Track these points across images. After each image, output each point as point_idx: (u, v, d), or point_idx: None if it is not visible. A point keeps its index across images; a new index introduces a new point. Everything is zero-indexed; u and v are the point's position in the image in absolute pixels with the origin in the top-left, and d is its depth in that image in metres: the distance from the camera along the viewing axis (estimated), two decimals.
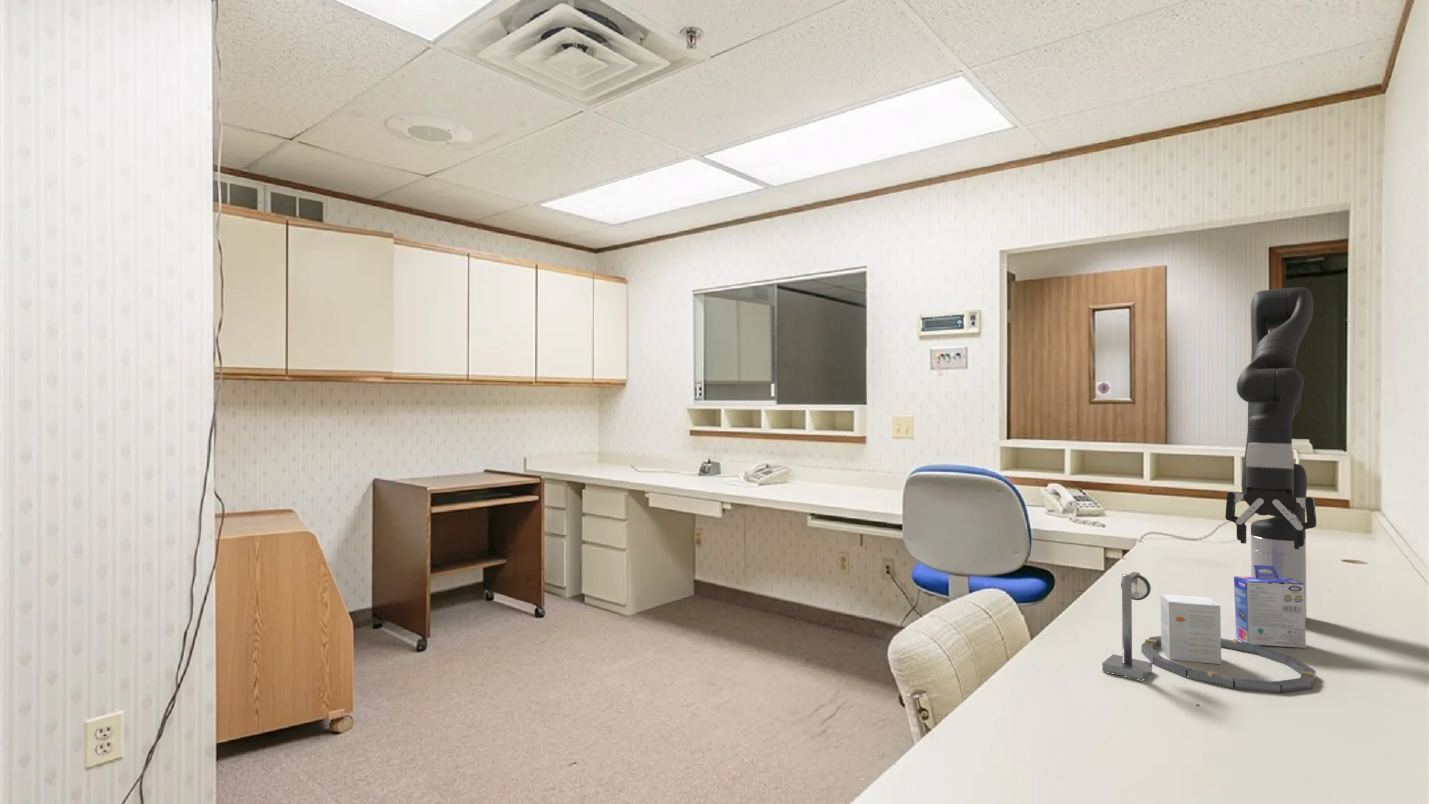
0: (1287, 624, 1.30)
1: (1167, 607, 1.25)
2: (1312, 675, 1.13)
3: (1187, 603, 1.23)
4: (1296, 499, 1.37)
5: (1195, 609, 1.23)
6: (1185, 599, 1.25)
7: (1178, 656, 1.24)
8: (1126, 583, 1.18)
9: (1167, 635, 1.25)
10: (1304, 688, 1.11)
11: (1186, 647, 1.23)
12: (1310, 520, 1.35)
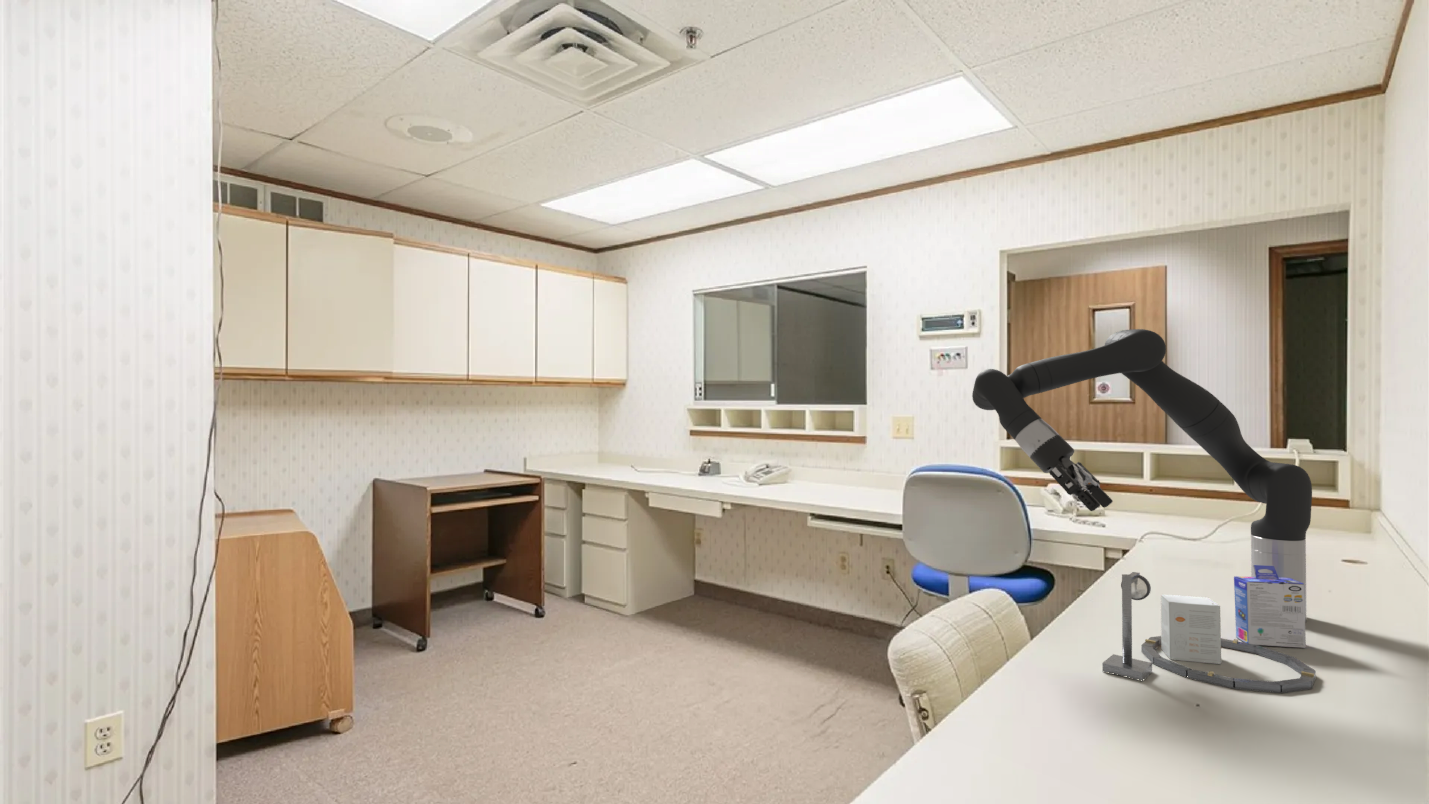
0: (1287, 624, 1.30)
1: (1167, 607, 1.25)
2: (1312, 675, 1.13)
3: (1187, 603, 1.23)
4: None
5: (1195, 609, 1.23)
6: (1185, 599, 1.25)
7: (1178, 656, 1.24)
8: (1126, 583, 1.18)
9: (1167, 635, 1.25)
10: (1304, 688, 1.11)
11: (1186, 647, 1.23)
12: None
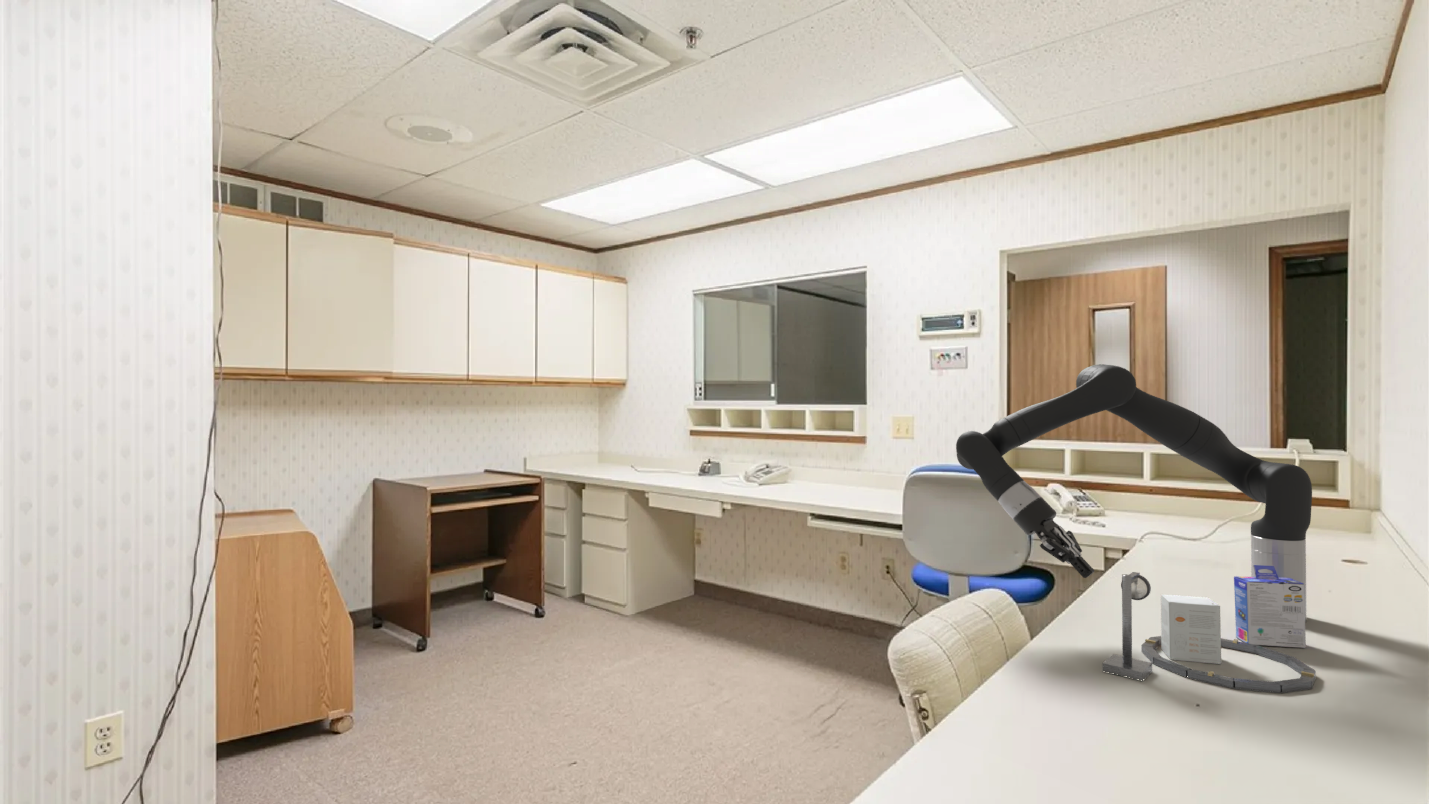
0: (1287, 624, 1.30)
1: (1167, 607, 1.25)
2: (1312, 675, 1.13)
3: (1187, 603, 1.23)
4: None
5: (1195, 609, 1.23)
6: (1185, 599, 1.25)
7: (1178, 656, 1.24)
8: (1126, 583, 1.18)
9: (1167, 635, 1.25)
10: (1304, 688, 1.11)
11: (1186, 647, 1.23)
12: None
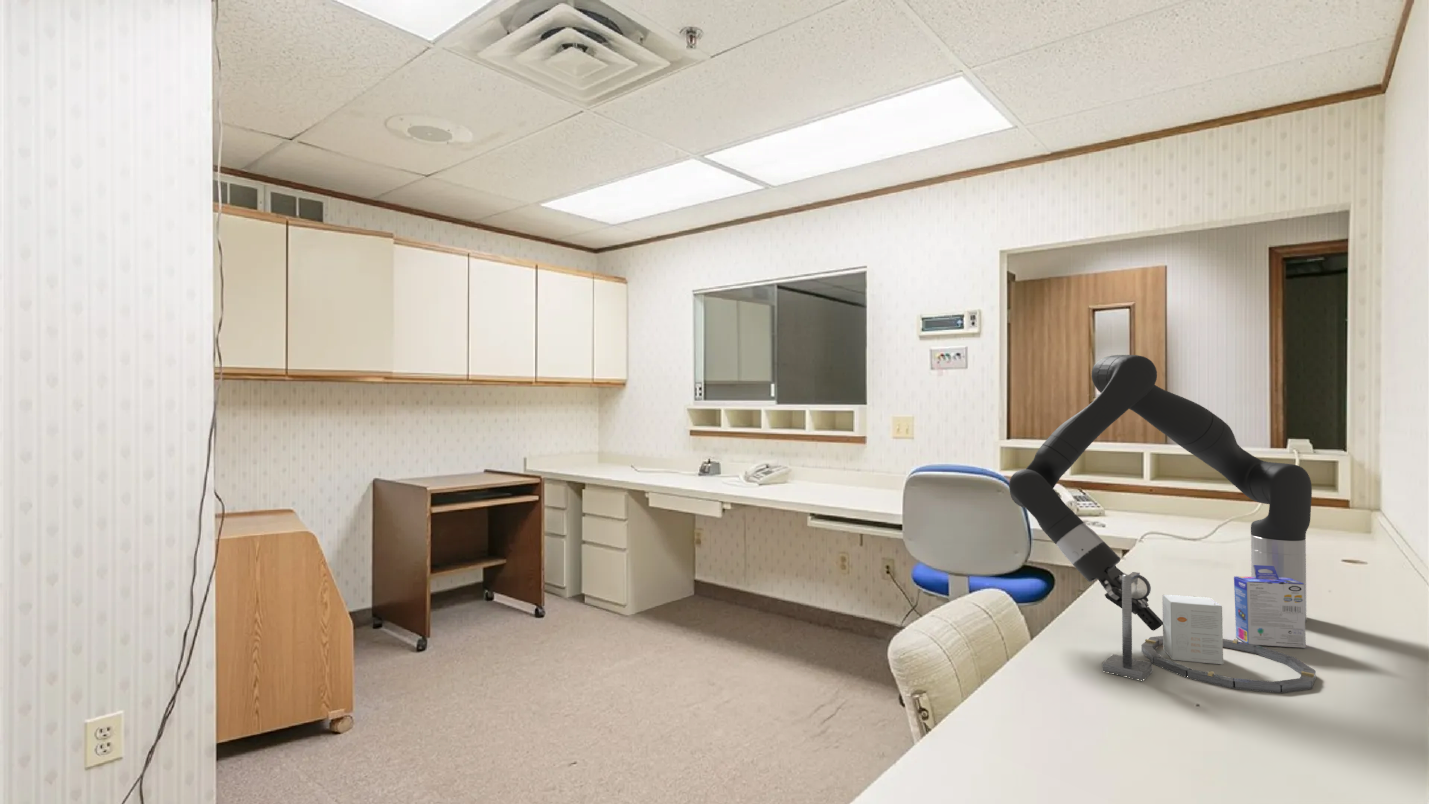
0: (1287, 624, 1.30)
1: (1169, 607, 1.25)
2: (1312, 675, 1.13)
3: (1189, 603, 1.23)
4: (1106, 587, 1.32)
5: (1197, 609, 1.23)
6: (1187, 599, 1.25)
7: (1180, 656, 1.23)
8: (1126, 583, 1.18)
9: (1169, 635, 1.25)
10: (1304, 688, 1.11)
11: (1188, 647, 1.23)
12: None
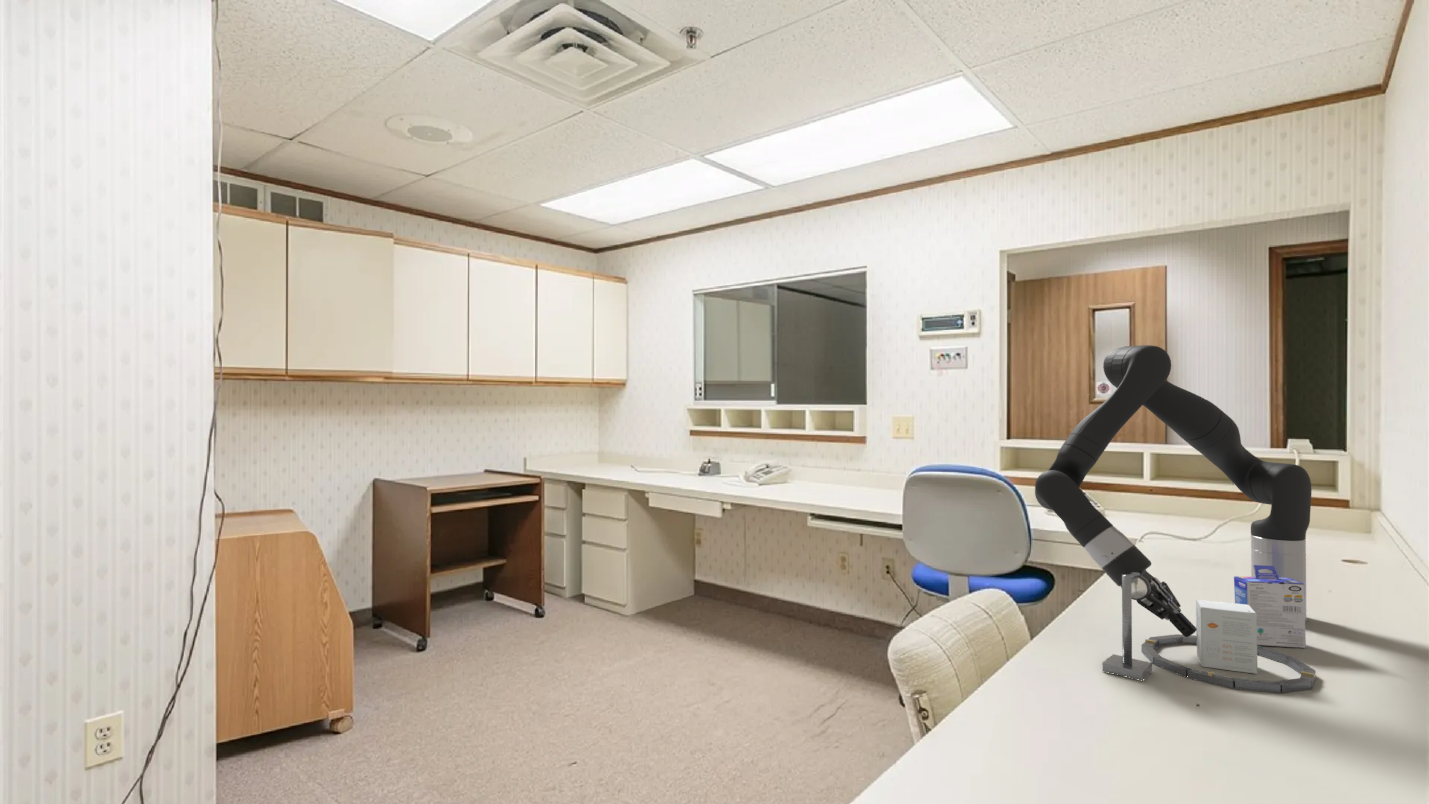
0: (1288, 624, 1.30)
1: (1199, 612, 1.21)
2: (1312, 675, 1.13)
3: (1220, 609, 1.20)
4: None
5: (1229, 615, 1.19)
6: (1220, 605, 1.21)
7: (1210, 663, 1.20)
8: (1126, 583, 1.18)
9: (1199, 641, 1.22)
10: (1304, 688, 1.11)
11: (1219, 655, 1.19)
12: None
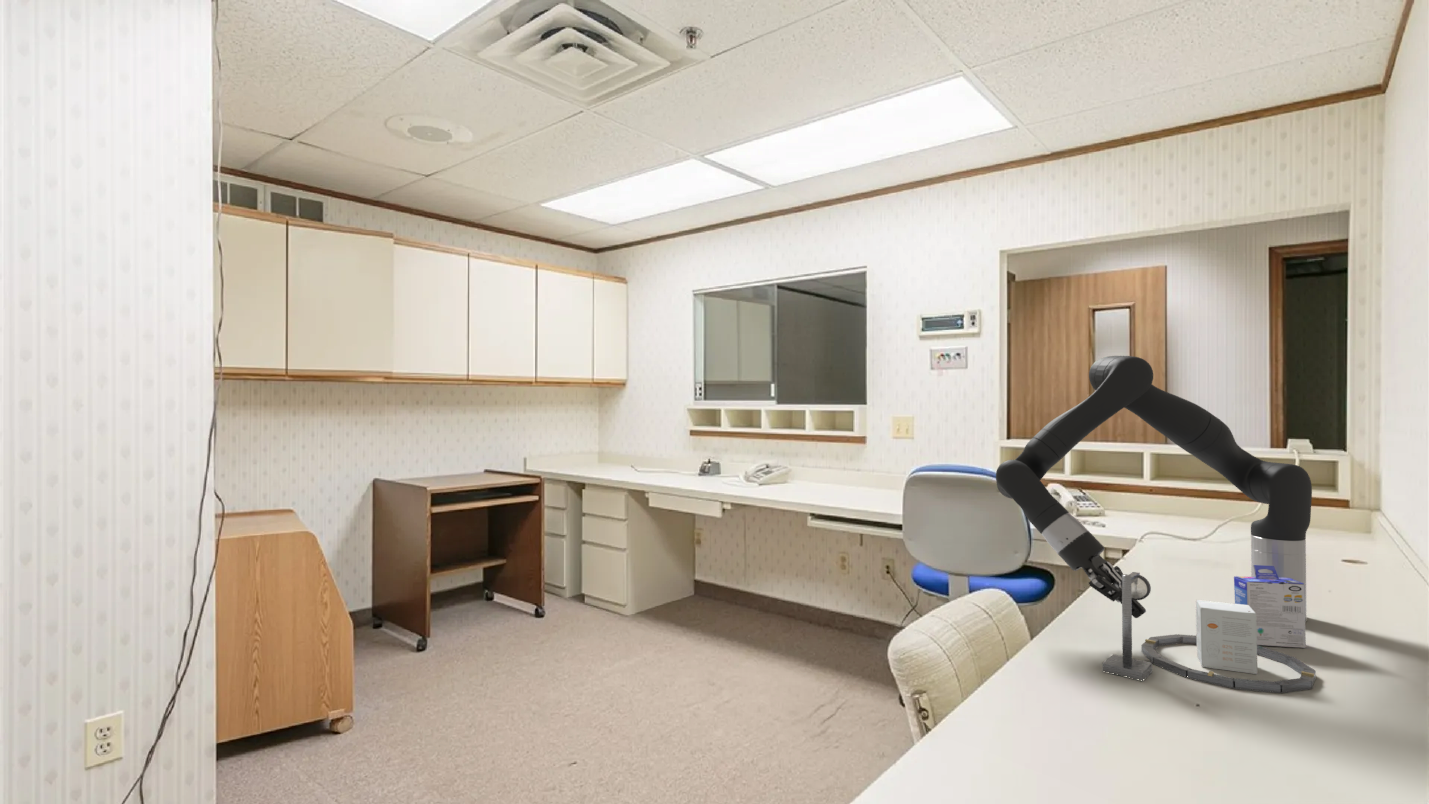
0: (1288, 624, 1.30)
1: (1199, 613, 1.21)
2: (1312, 675, 1.13)
3: (1220, 609, 1.20)
4: (1091, 576, 1.33)
5: (1229, 616, 1.19)
6: (1220, 605, 1.21)
7: (1210, 664, 1.20)
8: (1126, 583, 1.18)
9: (1199, 642, 1.22)
10: (1304, 688, 1.11)
11: (1219, 655, 1.19)
12: None
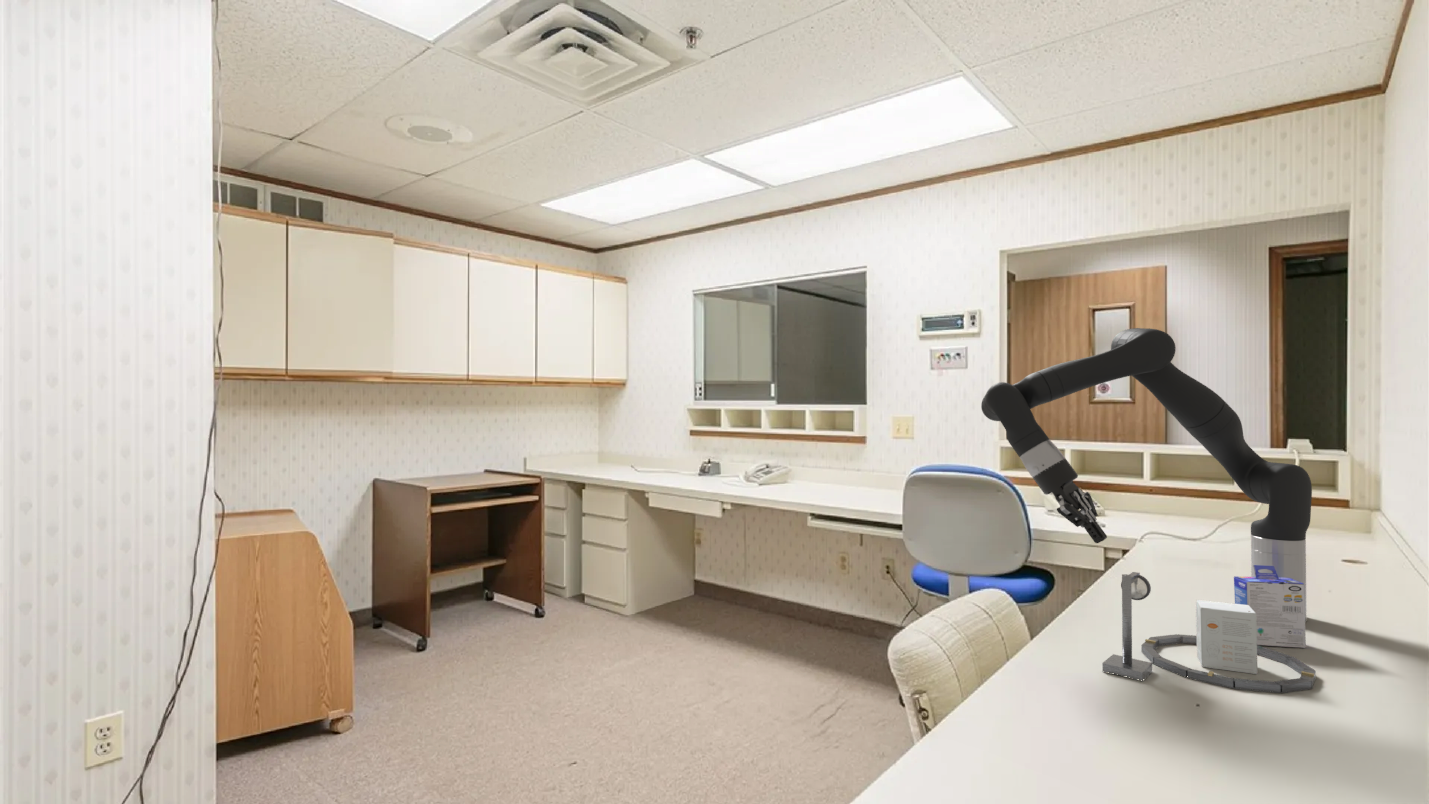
0: (1287, 624, 1.30)
1: (1199, 613, 1.21)
2: (1312, 675, 1.13)
3: (1220, 609, 1.20)
4: (1060, 502, 1.39)
5: (1229, 616, 1.19)
6: (1220, 605, 1.21)
7: (1210, 664, 1.20)
8: (1126, 583, 1.18)
9: (1199, 642, 1.22)
10: (1304, 688, 1.11)
11: (1219, 655, 1.19)
12: None
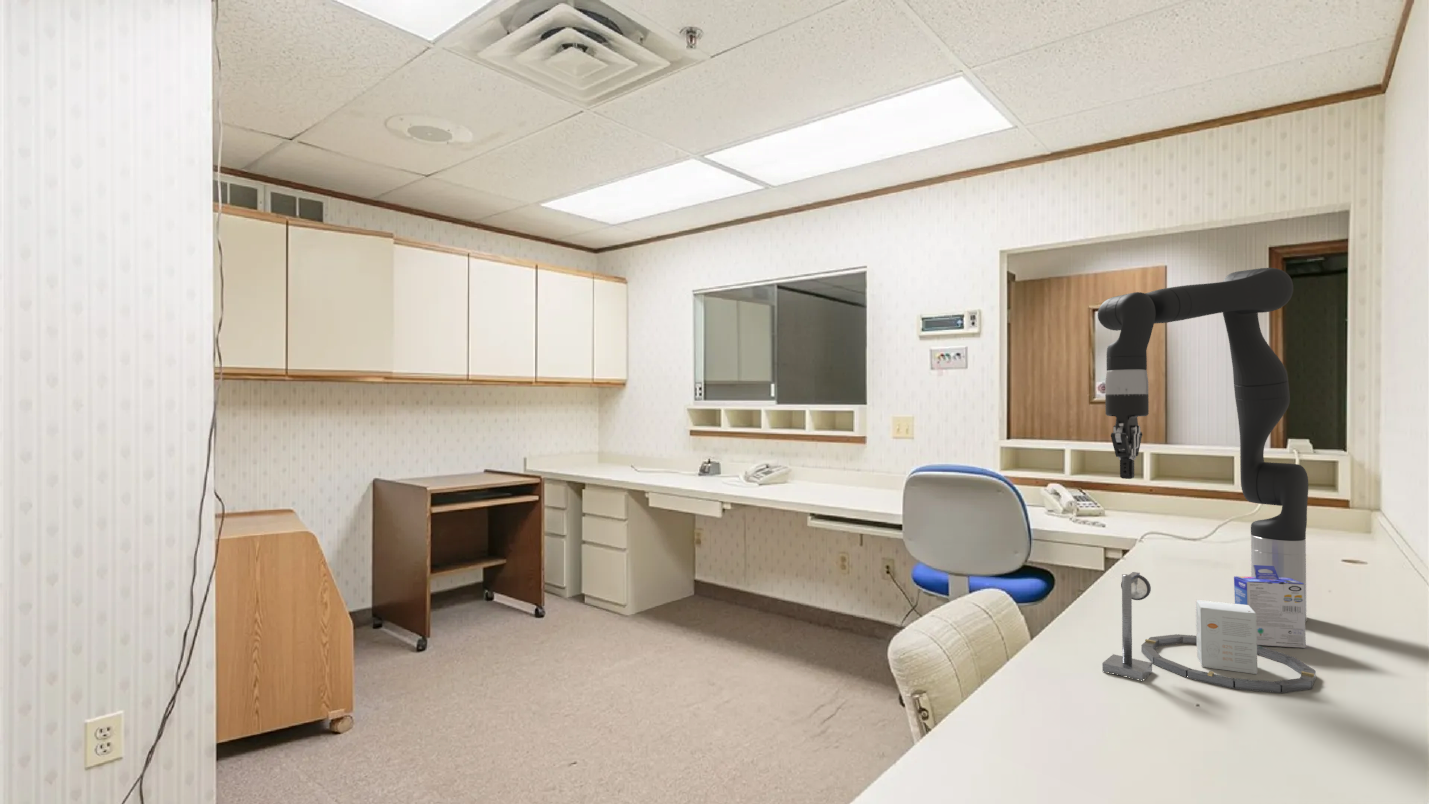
0: (1287, 624, 1.30)
1: (1199, 613, 1.21)
2: (1312, 675, 1.13)
3: (1220, 609, 1.20)
4: (1117, 428, 1.37)
5: (1229, 616, 1.19)
6: (1220, 605, 1.21)
7: (1210, 664, 1.20)
8: (1126, 583, 1.18)
9: (1199, 642, 1.22)
10: (1304, 688, 1.11)
11: (1219, 655, 1.19)
12: None
